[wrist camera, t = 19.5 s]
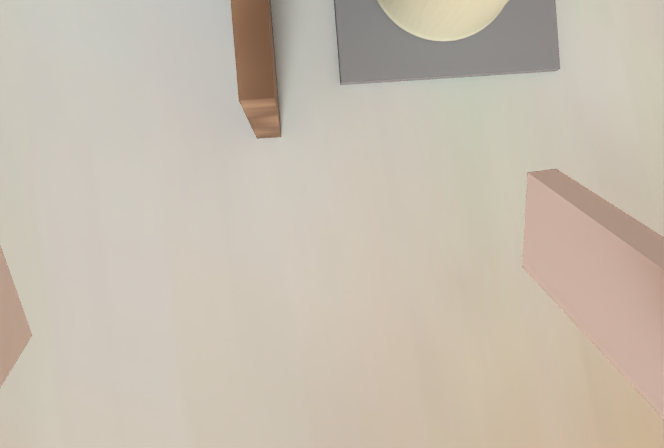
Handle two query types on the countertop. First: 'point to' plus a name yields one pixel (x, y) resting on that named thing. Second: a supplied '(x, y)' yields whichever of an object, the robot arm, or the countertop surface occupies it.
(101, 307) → the countertop surface
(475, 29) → the can
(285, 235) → the countertop surface
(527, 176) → the robot arm
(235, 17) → the rack
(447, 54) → the mat
